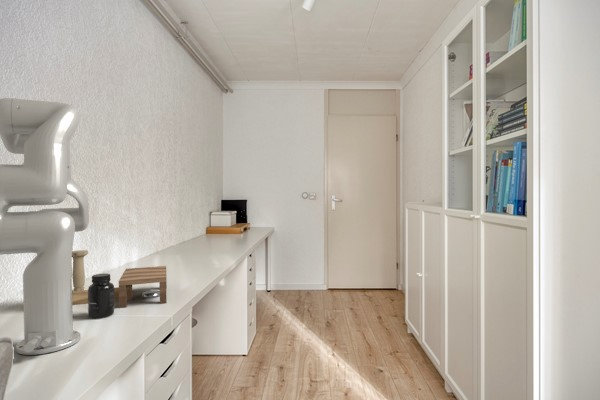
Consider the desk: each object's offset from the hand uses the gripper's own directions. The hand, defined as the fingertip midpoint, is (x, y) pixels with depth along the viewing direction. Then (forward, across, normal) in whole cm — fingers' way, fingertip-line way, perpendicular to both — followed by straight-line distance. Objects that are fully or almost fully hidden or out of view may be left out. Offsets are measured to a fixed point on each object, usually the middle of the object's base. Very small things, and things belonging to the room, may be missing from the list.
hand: (60, 302), depth 120 cm
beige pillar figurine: (+1, +19, -2) cm, 19 cm away
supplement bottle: (+1, -17, -14) cm, 22 cm away
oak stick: (+1, 0, -9) cm, 9 cm away
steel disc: (+1, 0, -28) cm, 28 cm away
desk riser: (+1, 0, -26) cm, 26 cm away
